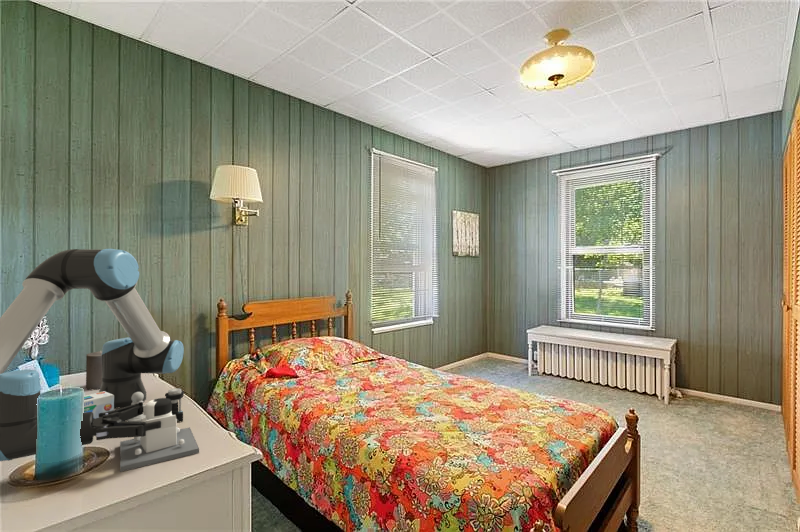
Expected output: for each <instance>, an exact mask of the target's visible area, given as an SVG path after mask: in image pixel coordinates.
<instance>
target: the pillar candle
mask: <svg viewBox="0 0 800 532" xmlns="http://www.w3.org/2000/svg"><path fill="white" fill-rule="evenodd" d="M101 354H102V349H100V351H94V352H89V353H87V354H86V356H85V357H86V360H85V361H86V363H85V364H86V367H85V368H86V370H85V371H86V374H85V389H86V388H87V389H86V390H89V389H96V390H100V388H101V385H102V355H101Z"/></svg>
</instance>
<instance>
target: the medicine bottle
mask: <svg viewBox="0 0 800 532" xmlns="http://www.w3.org/2000/svg"><path fill="white" fill-rule="evenodd" d="M145 405H146V417H145V418H142V419H141V422H146V420H149V419H155V418H160V417H165V416H171V415H172V401H171V400H170V399H167V398H166V397H159V398H154V399H151V400H150V401H147V402H146V403H145ZM177 423H178V422H177V419H176V426H173V427H168V428H163V429H158V430H153V431H148V432H146V436H143V437H141V445H142V447H143V449H144V450H145V452H146V453H149V452H153V451H156V450H160V449H164V448H167V447H171V446H175V445H177V427H178V424H177Z"/></svg>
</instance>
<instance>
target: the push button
mask: <svg viewBox="0 0 800 532" xmlns="http://www.w3.org/2000/svg"><path fill="white" fill-rule="evenodd" d="M184 394H185V391H184V390H182V388H178V387H177V388H171V389H168V391H167V392H166V393H165V394H164V397H165V398H167V399H170V400H171V401H172V415H176V419H177V421H182V422H183V421H184V412H183V409H182V399H183V398H184Z"/></svg>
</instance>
